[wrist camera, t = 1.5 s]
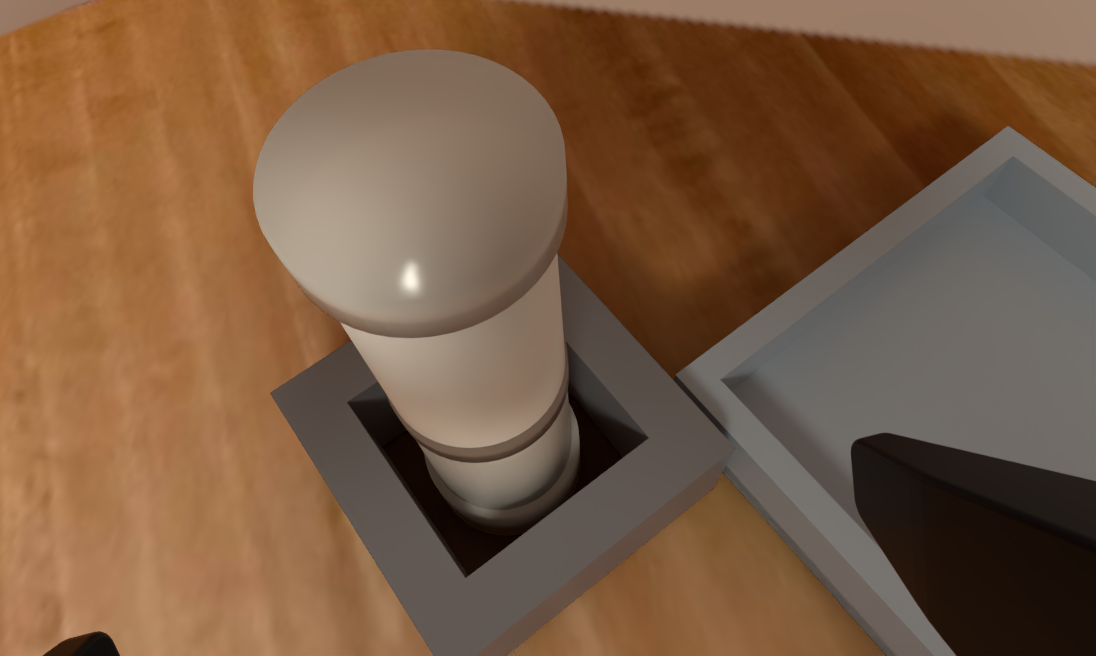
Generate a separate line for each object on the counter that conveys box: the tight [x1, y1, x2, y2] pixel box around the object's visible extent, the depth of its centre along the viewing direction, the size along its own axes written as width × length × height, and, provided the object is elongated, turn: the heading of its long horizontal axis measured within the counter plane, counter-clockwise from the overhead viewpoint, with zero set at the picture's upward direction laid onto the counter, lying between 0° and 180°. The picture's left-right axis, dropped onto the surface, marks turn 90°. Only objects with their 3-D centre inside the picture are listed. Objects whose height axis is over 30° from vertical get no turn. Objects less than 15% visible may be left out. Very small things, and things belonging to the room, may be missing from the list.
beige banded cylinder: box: [253, 49, 581, 535], centre depth 15 cm, size 4×4×13 cm
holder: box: [270, 253, 735, 656], centre depth 20 cm, size 8×8×4 cm
